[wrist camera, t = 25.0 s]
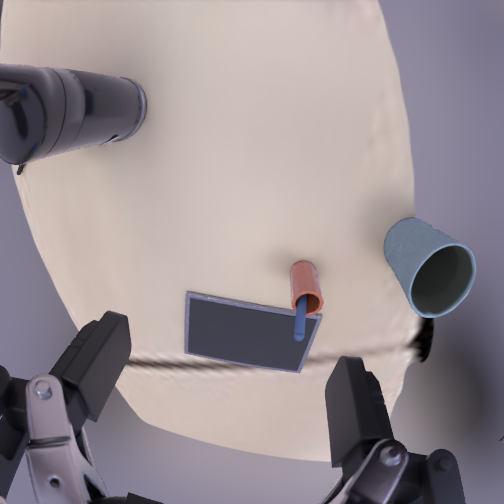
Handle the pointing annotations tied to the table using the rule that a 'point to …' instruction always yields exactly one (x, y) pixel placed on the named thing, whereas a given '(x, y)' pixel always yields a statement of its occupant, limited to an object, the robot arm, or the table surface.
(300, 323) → the stylus
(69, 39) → the table surface
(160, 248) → the table surface
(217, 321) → the tablet
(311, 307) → the pen pot
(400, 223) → the blue-grey tapered bin
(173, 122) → the table surface
